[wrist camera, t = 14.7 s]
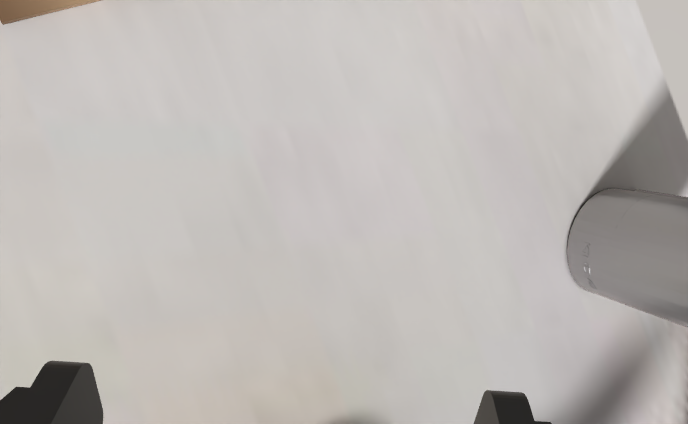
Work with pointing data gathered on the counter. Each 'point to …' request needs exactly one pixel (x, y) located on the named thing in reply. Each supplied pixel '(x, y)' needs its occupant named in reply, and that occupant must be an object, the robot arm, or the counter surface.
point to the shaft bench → (34, 8)
